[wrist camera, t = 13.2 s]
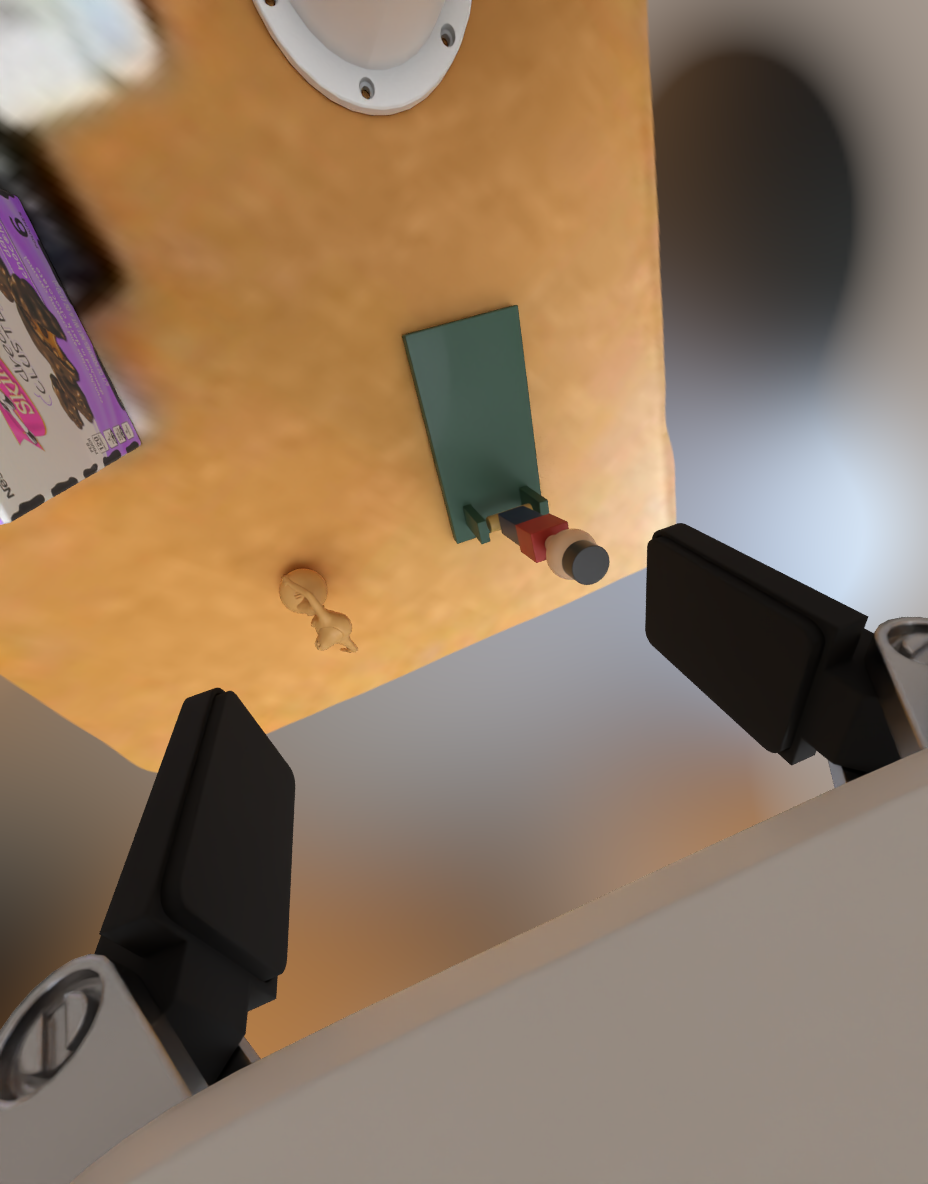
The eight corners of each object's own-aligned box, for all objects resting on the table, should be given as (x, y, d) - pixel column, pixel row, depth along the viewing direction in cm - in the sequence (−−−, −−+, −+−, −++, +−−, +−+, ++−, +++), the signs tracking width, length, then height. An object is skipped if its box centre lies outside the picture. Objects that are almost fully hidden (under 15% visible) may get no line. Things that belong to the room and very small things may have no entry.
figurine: (254, 556, 37) (232, 635, 27) (315, 522, 37) (315, 589, 28) (312, 622, 42) (311, 709, 32) (366, 591, 42) (382, 669, 32)
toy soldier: (555, 551, 24) (564, 601, 25) (618, 529, 25) (624, 579, 26) (481, 505, 37) (490, 540, 39) (524, 491, 38) (531, 526, 39)
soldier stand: (401, 335, 32) (415, 335, 28) (512, 305, 34) (543, 300, 29) (454, 539, 42) (471, 564, 37) (538, 511, 43) (565, 531, 39)
